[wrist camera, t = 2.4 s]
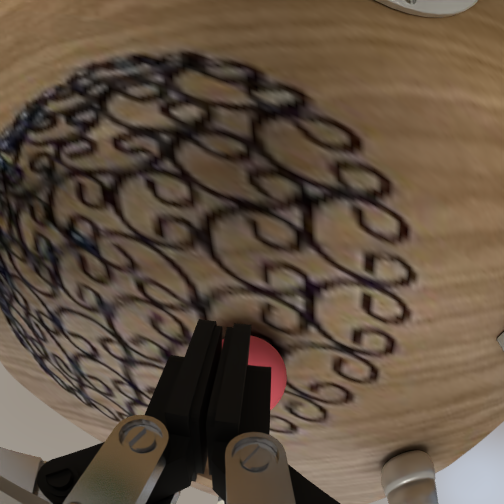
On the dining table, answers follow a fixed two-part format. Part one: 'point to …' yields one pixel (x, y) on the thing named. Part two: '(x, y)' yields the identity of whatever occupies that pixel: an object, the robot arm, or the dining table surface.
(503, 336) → the skincare box
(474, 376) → the dining table surface
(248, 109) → the dining table surface
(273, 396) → the ball
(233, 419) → the robot arm
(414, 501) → the plastic bottle
